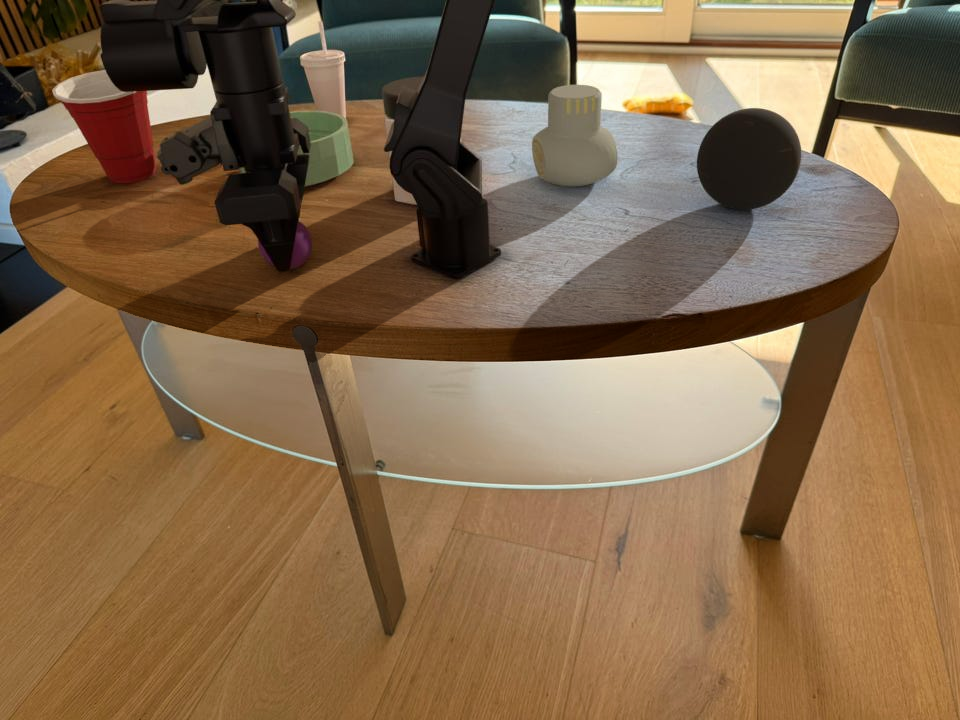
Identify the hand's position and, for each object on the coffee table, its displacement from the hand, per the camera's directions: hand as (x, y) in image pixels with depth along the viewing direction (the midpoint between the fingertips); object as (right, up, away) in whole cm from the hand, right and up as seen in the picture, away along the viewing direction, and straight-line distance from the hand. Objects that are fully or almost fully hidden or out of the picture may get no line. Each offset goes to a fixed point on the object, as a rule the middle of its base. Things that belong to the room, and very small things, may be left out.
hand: (287, 252), depth 69 cm
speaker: (+46, +6, +7) cm, 47 cm away
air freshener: (+30, +11, +16) cm, 35 cm away
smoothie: (-3, +25, +38) cm, 45 cm away
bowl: (-5, +14, +22) cm, 26 cm away
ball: (0, +1, -1) cm, 1 cm away
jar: (+13, +9, +14) cm, 21 cm away
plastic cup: (-27, +13, +24) cm, 38 cm away
